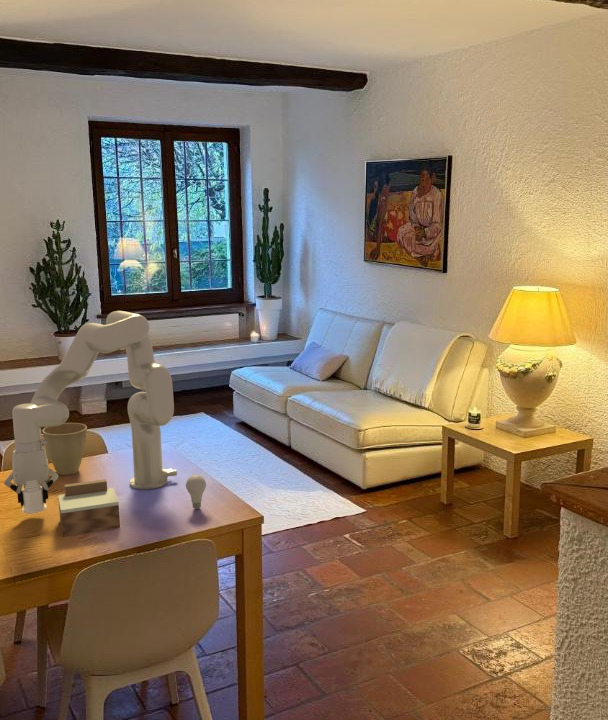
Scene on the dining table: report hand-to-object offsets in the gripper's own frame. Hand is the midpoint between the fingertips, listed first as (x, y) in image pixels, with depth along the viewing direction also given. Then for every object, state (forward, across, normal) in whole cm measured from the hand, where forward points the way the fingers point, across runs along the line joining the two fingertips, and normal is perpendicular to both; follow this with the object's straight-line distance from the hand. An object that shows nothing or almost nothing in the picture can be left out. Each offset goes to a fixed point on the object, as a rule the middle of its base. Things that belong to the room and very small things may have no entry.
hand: (33, 502), depth 223 cm
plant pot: (+5, -12, -39) cm, 41 cm away
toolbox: (+5, -15, +11) cm, 19 cm away
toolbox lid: (-2, -15, +11) cm, 19 cm away
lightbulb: (+5, -47, +12) cm, 49 cm away
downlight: (+2, 0, 0) cm, 2 cm away
